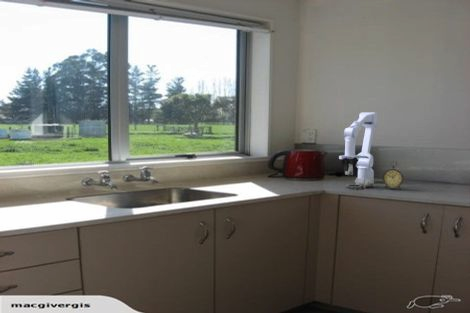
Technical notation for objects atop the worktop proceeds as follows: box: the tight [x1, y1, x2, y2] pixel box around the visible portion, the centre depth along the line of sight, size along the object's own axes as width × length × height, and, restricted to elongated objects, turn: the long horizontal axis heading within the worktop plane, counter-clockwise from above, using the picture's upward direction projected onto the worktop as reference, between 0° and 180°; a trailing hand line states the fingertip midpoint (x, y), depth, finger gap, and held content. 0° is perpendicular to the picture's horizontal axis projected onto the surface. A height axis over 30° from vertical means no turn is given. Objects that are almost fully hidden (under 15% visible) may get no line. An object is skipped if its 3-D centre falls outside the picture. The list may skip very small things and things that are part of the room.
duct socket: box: [345, 177, 375, 190], centre depth 239 cm, size 18×9×5 cm, turn 117°
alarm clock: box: [382, 160, 404, 191], centre depth 234 cm, size 11×5×16 cm, turn 62°
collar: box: [344, 163, 354, 176], centre depth 244 cm, size 4×4×6 cm
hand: (349, 170), depth 244 cm, fingers closed on collar, 4 cm apart
